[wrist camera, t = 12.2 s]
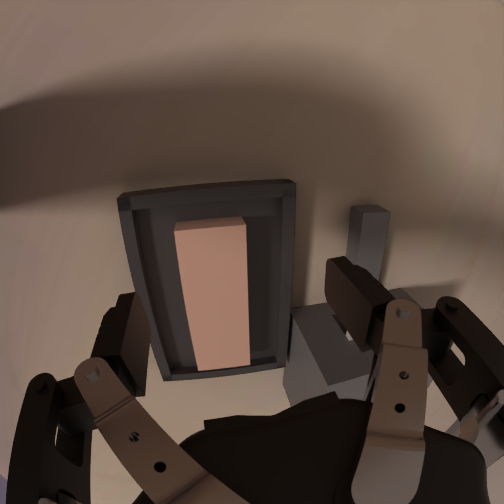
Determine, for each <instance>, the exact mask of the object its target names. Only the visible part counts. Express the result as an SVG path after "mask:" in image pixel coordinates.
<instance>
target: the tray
mask: <svg viewBox="0 0 504 504" xmlns="http://www.w3.org/2000/svg"><path fill="white" fill-rule="evenodd" d="M117 204H118V211H119V217H120V223H121V228H122V234H123V239H124V244H125V249H126V254H127V258H128V263H129V267H130V272H131V276H132V280H133V284H134V288H135V292H137V293H138V294H139V296H140V299H141V302H142V304H143V307H144V310H145V312H146V315H147V318H148V320H149V324H150V329H151V338H150V344H151V347H152V350H153V353H154V356H155V359H156V361H157V364H158V367H159V370H160V373H161V375H162V378H163V381H178V380H192V379H203V378H213V377H222V376H231V375H238V374H246V373H252V372H259V371H265V370H271V369H277V368H282V367H286V358H287V346H288V334H289V322H290V308H291V293H292V276H293V258H294V236H295V208H296V183H295V182H293V181H291V180H289V179H278V180H254V181H236V182H221V183H208V184H197V185H186V186H176V187H167V188H158V189H149V190H141V191H134V192H126V193H122V194H121V195H120V196H119V197H118V198H117ZM239 216H242V218H243V220H244V222H245V224H246V242H247V279H248V313H249V345H250V365H245V366H238V367H230V368H221V369H212V370H202V371H198V367H197V362H196V358H195V353H194V348H193V344H192V339H191V334H190V329H189V323H188V318H187V313H186V307H185V301H184V295H183V290H182V283H181V277H180V271H179V264H178V257H177V250H176V242H175V234H174V229H175V224H176V222H182V221H192V220H203V219H215V218H227V217H239Z"/></svg>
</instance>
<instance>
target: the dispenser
mask: <svg viewBox="0 0 504 504" xmlns="http://www.w3.org/2000/svg"><path fill="white" fill-rule="evenodd" d="M389 218H390V212H389V211H388V210H386V209H384V208H382V207H380V206H352V207H351V217H350V227H349V236H348V244H347V252H346V258H347V259H348V260H349V261H350V262H351V263H352V264H353V265H358V266H360V267H362V268H364V269H367V270H368V271H369V272H370V273H371V274H372V275H373V278H374V277H375V278H376V279H377V280H379V275H380V270H381V265H382V260H383V255H384V250H385V244H386V238H387V232H388V225H389ZM389 292H390V293H391V294H392V295H393V296H394V297H395V298H396V299H405V300H409V301H411V302H413V303H415V304H416V305H417V306H418V307H419V308H420V309H423V308H422V307H421V306H420V305H419V304H418V303H416V302H415V301H414V300H413V299H412V298H411V297H410V296H409V295H408V294H407V293H406V292H405V291H403V290H402V289H401V288H399V289H394V290H390V291H389ZM373 355H374V352H373V350H372V349H371V350H368V351H366V352H363V353H362V352H361V351H360V349H359V348H358V346H357V345H356V343H355V342H354V340H353V339H352V337H351V336H350V334H349V333H348V331H347V330H346V328H345V327H344V325H343V324H342V322H341V321H340V320H339V318H338V317H337V315H336V314H335V312H334V311H333V309H332V308H331V306H330V305H329V304H328V303H322V304H316V305H310V306H304V307H298V308H291V309H290V322H289V334H288V346H287V358H286V367H284V378H283V386H284V389H285V391H286V394H287V397H288V400H289V402H290V405H291V407H292V406H294V405H296V404H298V403H300V402H301V401H303V400H306V399H309V398H313V397H316V396H320V395H323V394H326V393H329V392H332V391H335V392H336V394H337V396H338V398H339V399H342V398H350V399H359V400H363V397H364V394H365V390H366V386H367V381H368V377H369V372H370V367H371V363H372V358H373ZM432 380H433V379H432V377H431V376H430V375H429V373H428V381H427V388H428V387H429V385H430V383H431V382H432Z"/></svg>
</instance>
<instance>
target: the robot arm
mask: <svg viewBox="0 0 504 504" xmlns="http://www.w3.org/2000/svg"><path fill="white" fill-rule="evenodd" d="M325 296H326V300H327V302H328V304H329V305H330V306H331V308H332V309H333V311H334V312H335V314H336V315H337V317H338V318H339V320H340V321H341V322H342V324H343V325H344V327H345V328H346V330H347V331H348V333H349V334H350V336H351V337H352V339H353V340H354V342H355V343H356V345H357V346H358V348H359V349H360V351H361V352H362V353H363V352H366V351H368V350H371V349H372V350H373V352H374V355H373V358H372V363H371V367H370V372H369V377H368V381H367V386H366V390H365V394H364V397H363V400H359V399H350V398H342V399H339V398H338V396H337V394H336V392H335V391H332V392H329V393H326V394H323V395H320V396H316V397H313V398H309V399H306V400H303V401H301V402H300V403H298V404H296V405H294V406H292V407H290V408H288V409H286V410H284V411H282V412H280V413H278V414H276V415H272V416H245V415H235V416H230V417H223V418H217V419H210V420H204V428H205V429H204V430H201V431H199V432H197V433H195V434H193V435H191V436H189V437H188V438H186V439H185V440H184V441H182V442H181V443H180V444H179V445H178V444H177V443H176V442H175V441H174V440H173V439H172V438H171V437H170V436H169V435H168V434H167V433H166V432H165V431H164V430H163V429H162V428H161V427H160V426H159V425H158V424H157V422H156V421H155V420H154V419H153V418H152V417H151V416H150V415H149V414H148V412H147V411H146V410H145V409H144V408H143V407H142V405H141V404H140V403H139V402H138V401H137V400H136V398H135V397H140V396H145V390H146V377H147V366H148V356H149V346H150V338H151V329H150V324H149V320H148V318H147V315H146V312H145V310H144V307H143V304H142V302H141V299H140V296H139V294H138V293H137V292H132V293H126V294H120V295H119V297H118V300H117V303H116V306H115V307H112V308H110V309H109V310H108V311H107V313H106V314H105V315H104V316H103V319H102V322H101V327H100V328H99V331H98V333H99V334H97V337H96V341H95V344H94V347H93V350H92V354H91V357H90V358H89V359H86V360H85V361H83V362H82V363H80V364H79V365H78V367H77V368H76V370H75V373H74V376H73V377H70V378H67V379H63V380H60V381H56V379H55V378H54V377H53V376H52V375H51V374H49V373H41V374H39V375H37V376H35V377H34V378H33V379H32V380H31V381H30V383H29V385H28V387H27V390H26V393H25V397H24V400H23V404H22V407H21V411H20V415H19V419H18V423H17V427H16V432H15V436H14V441H13V446H12V452H11V458H10V465H9V472H8V481H7V493H6V504H91V498H90V463H91V442H92V430H94V429H99V431H100V433H101V434H102V436H103V437H104V439H105V440H106V442H107V443H108V445H109V446H110V448H111V449H112V451H113V452H114V454H115V455H116V456H117V458H118V459H119V460H120V462H121V463H122V465H123V466H124V467H125V468H126V470H127V471H128V472H129V474H130V475H131V476H132V477H133V479H134V480H135V481H136V482H137V484H138V485H139V486H140V487H141V488H142V490H143V491H142V492H141V493H140V495H139V496H138V497H137V498H136V500H135V501H134V502H133V503H132V504H490V501H489V496H488V490H487V470H486V469H487V468H488V467H489V466H490V465H492V464H493V463H494V462H495V461H497V460H498V459H500V457H502V456H503V455H504V345H503V344H502V343H501V342H500V341H499V340H498V339H497V337H496V336H495V335H494V334H493V333H492V332H491V331H490V330H489V329H488V328H487V327H486V326H485V325H484V324H483V322H482V321H481V320H480V319H479V318H478V317H477V316H476V315H475V314H474V313H473V312H472V311H471V310H470V309H469V308H468V307H467V306H466V305H465V304H464V303H463V302H461V301H460V300H459V299H457V298H454V297H450V296H445V297H441V298H440V299H438V301H437V304H436V307H435V308H432V309H420V308H419V307H418V306H417V305H416V304H415V303H413V302H411V301H409V300H405V299H396V298H395V297H394V296H393V295H392V294H391V293H390V292H389V291H388V290H387V289H386V288H385V287H384V286H383V285H382V284H381V283H379V282H378V280H377V279H376V278H375V277H374V278H373V275H372V274H371V273H370V272H369V271H368V270H367V269H364V268H362V267H360V266H358V265H353V264H352V263H351V262H350V261H349V260H348V259H347V258H346V257H345V256H341V257H336V258H331V259H328V260H327V262H326V275H325ZM453 342H454V343H455V344H456V346H457V347H458V348H459V349H460V350H461V352H462V353H463V354H464V356H465V366H464V365H463V364H462V363H461V361H460V360H459V359H458V358H457V356H456V355H455V354H454V353H453V351H452V350H451V347H452V344H453ZM428 373H429V375H430V376H431V377H432V379H433V380H434V382H435V383H436V385H437V386H438V388H439V389H440V391H441V393H442V394H443V396H444V397H445V399H446V400H447V402H448V403H449V405H450V406H451V408H452V410H453V411H454V413H455V414H456V416H457V418H458V419H459V421H460V435H459V437H456V436H453V435H450V434H447V433H444V432H441V431H439V430H436V429H433V428H431V427H428V426H425V425H424V422H425V412H426V400H427V381H428ZM57 427H58V433H57V440H56V446H55V435H56V429H57Z"/></svg>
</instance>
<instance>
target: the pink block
mask: <svg viewBox="0 0 504 504" xmlns="http://www.w3.org/2000/svg"><path fill="white" fill-rule="evenodd" d="M174 234H175V242H176V250H177V257H178V264H179V271H180V277H181V283H182V290H183V295H184V301H185V307H186V313H187V318H188V323H189V329H190V334H191V339H192V344H193V348H194V353H195V358H196V362H197V367H198V371H202V370H212V369H221V368H230V367H238V366H245V365H250V345H249V313H248V279H247V242H246V224H245V222H244V220H243V218H242V216H239V217H227V218H215V219H203V220H192V221H182V222H176V224H175V229H174Z"/></svg>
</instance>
